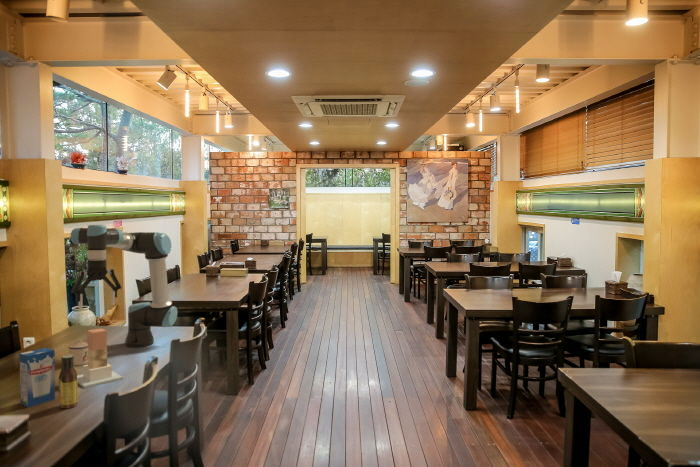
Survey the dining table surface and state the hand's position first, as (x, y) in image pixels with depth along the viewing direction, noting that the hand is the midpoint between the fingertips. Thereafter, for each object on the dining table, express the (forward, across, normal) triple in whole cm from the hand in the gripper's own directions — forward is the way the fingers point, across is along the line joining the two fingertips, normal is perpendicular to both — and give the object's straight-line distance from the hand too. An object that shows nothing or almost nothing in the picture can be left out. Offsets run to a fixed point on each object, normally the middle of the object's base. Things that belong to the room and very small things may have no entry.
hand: (97, 306), depth 216 cm
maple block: (+27, 0, 0) cm, 27 cm away
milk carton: (+33, +26, +11) cm, 43 cm away
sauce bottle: (+33, +19, +24) cm, 45 cm away
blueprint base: (+33, 0, 0) cm, 33 cm away
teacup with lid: (+33, -3, -31) cm, 45 cm away
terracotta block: (+19, 0, 0) cm, 19 cm away
